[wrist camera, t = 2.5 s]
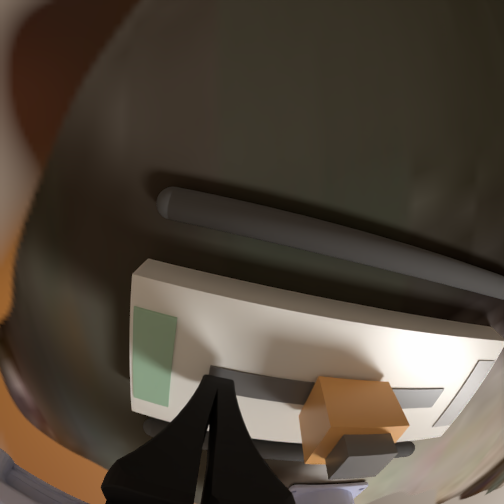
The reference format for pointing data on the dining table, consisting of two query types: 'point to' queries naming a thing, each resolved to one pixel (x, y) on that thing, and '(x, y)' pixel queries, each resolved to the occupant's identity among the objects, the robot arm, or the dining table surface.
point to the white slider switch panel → (293, 351)
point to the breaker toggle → (351, 426)
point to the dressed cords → (323, 242)
